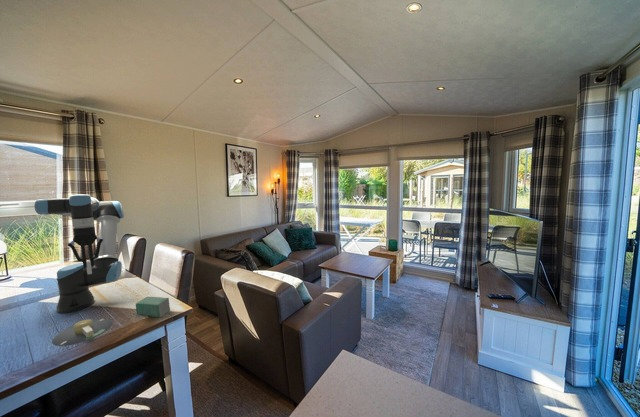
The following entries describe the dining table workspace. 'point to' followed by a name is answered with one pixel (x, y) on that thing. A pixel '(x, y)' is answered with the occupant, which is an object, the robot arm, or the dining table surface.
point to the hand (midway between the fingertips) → (89, 273)
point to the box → (153, 306)
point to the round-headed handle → (84, 328)
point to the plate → (70, 338)
